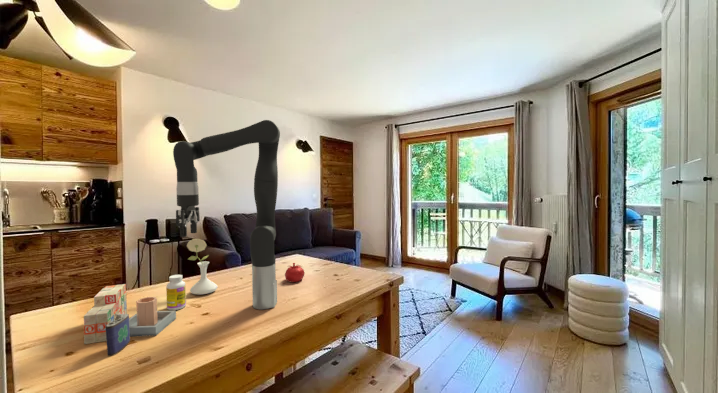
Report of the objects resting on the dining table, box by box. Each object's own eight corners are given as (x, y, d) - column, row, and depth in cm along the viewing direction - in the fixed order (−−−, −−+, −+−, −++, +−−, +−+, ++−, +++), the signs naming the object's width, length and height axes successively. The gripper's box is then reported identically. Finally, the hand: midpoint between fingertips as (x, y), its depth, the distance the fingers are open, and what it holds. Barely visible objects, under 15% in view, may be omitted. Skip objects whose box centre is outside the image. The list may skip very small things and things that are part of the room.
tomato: (308, 279, 164) (308, 262, 163) (294, 284, 155) (295, 266, 155) (294, 276, 169) (294, 259, 168) (280, 280, 160) (280, 263, 160)
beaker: (160, 321, 113) (159, 296, 113) (151, 328, 107) (150, 302, 107) (144, 321, 113) (143, 297, 112) (134, 329, 107) (133, 303, 107)
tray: (176, 318, 117) (175, 310, 117) (155, 335, 104) (155, 327, 104) (139, 319, 116) (139, 311, 116) (114, 337, 103) (114, 328, 103)
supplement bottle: (177, 311, 123) (176, 279, 123) (162, 310, 125) (161, 278, 124) (189, 304, 130) (188, 274, 129) (175, 303, 131) (174, 273, 130)
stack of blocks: (108, 341, 101) (106, 303, 100) (83, 345, 98) (82, 306, 98) (127, 314, 121) (126, 283, 120) (107, 317, 118) (105, 285, 117)
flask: (123, 340, 101) (122, 308, 100) (133, 340, 101) (132, 307, 101) (104, 356, 92) (102, 321, 91) (115, 356, 92) (114, 320, 92)
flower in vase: (221, 287, 150) (220, 236, 149) (211, 296, 139) (209, 240, 137) (194, 288, 150) (192, 236, 148) (181, 297, 138) (179, 240, 137)
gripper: (189, 194, 115) (190, 238, 116) (205, 192, 129) (206, 231, 130) (167, 194, 115) (169, 238, 116) (186, 192, 129) (187, 232, 130)
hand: (188, 234), depth 123 cm, fingers open, 8 cm apart
